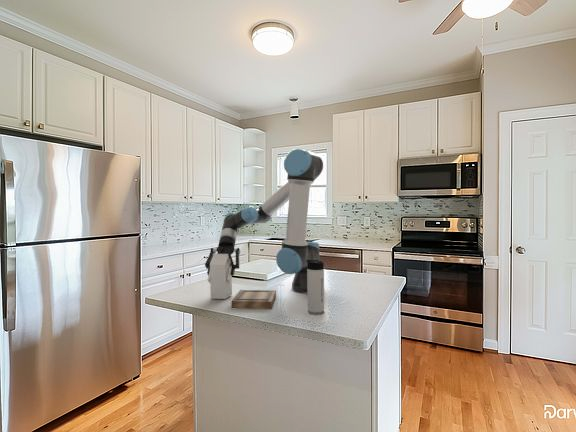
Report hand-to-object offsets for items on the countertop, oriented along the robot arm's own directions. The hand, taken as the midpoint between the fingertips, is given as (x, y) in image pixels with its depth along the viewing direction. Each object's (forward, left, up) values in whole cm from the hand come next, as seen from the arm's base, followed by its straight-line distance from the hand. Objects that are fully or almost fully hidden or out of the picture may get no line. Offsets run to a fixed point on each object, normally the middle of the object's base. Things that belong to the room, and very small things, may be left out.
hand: (218, 281), depth 132 cm
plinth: (-16, +3, -8) cm, 18 cm away
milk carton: (0, -3, -8) cm, 9 cm away
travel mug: (-41, +14, -8) cm, 44 cm away
